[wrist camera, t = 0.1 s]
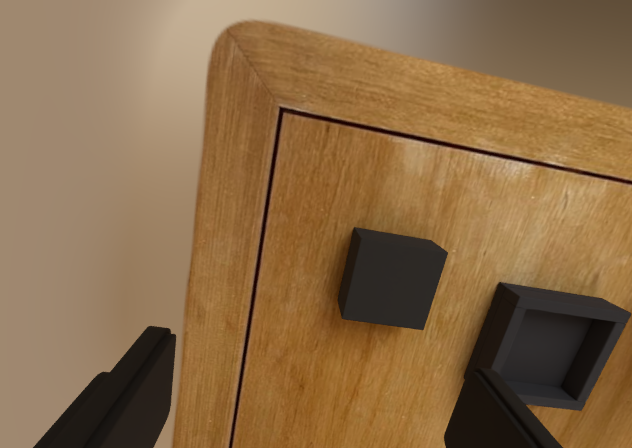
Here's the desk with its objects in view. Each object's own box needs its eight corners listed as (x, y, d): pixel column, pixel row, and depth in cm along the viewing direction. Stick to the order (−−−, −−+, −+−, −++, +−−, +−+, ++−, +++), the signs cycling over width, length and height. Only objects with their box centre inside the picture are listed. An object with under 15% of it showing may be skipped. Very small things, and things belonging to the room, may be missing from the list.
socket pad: (499, 281, 23) (520, 296, 21) (601, 298, 24) (632, 313, 22) (463, 377, 26) (478, 399, 23) (558, 388, 26) (581, 411, 24)
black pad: (354, 227, 21) (361, 237, 19) (431, 240, 22) (448, 252, 20) (337, 300, 23) (341, 319, 20) (410, 310, 23) (423, 330, 21)
